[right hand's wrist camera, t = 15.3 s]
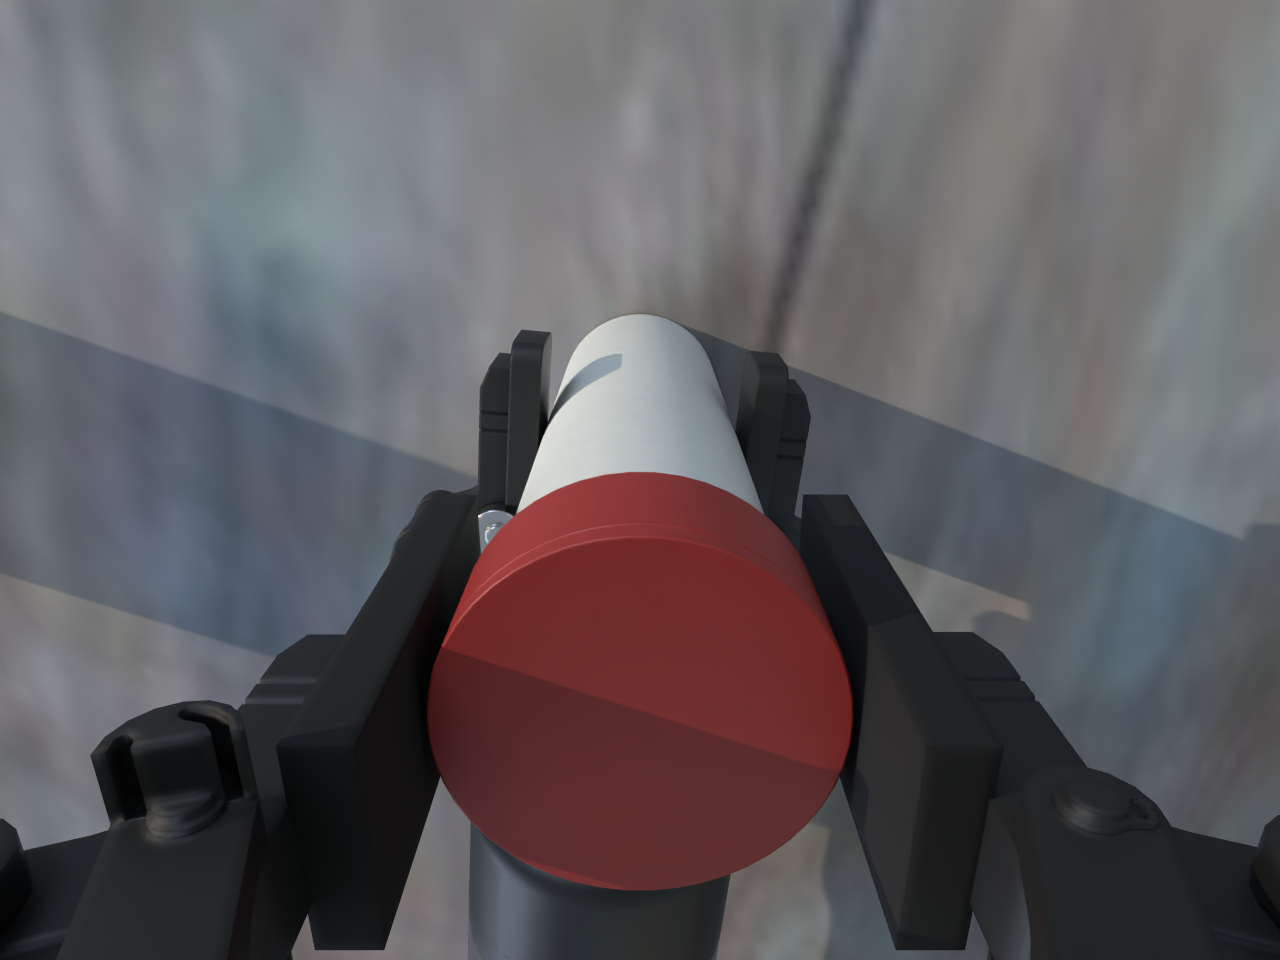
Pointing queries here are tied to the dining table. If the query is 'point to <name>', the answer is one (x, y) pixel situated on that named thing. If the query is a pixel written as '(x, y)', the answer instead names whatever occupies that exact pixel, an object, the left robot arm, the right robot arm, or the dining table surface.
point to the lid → (640, 686)
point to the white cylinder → (639, 413)
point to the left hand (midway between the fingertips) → (649, 351)
